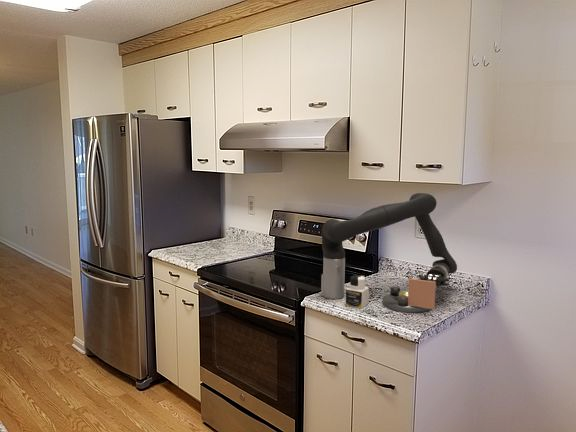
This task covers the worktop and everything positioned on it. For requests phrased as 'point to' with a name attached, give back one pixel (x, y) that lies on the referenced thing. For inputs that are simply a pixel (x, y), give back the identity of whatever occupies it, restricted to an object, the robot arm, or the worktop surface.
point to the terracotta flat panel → (419, 294)
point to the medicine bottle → (357, 292)
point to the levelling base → (392, 302)
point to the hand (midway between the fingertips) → (428, 285)
